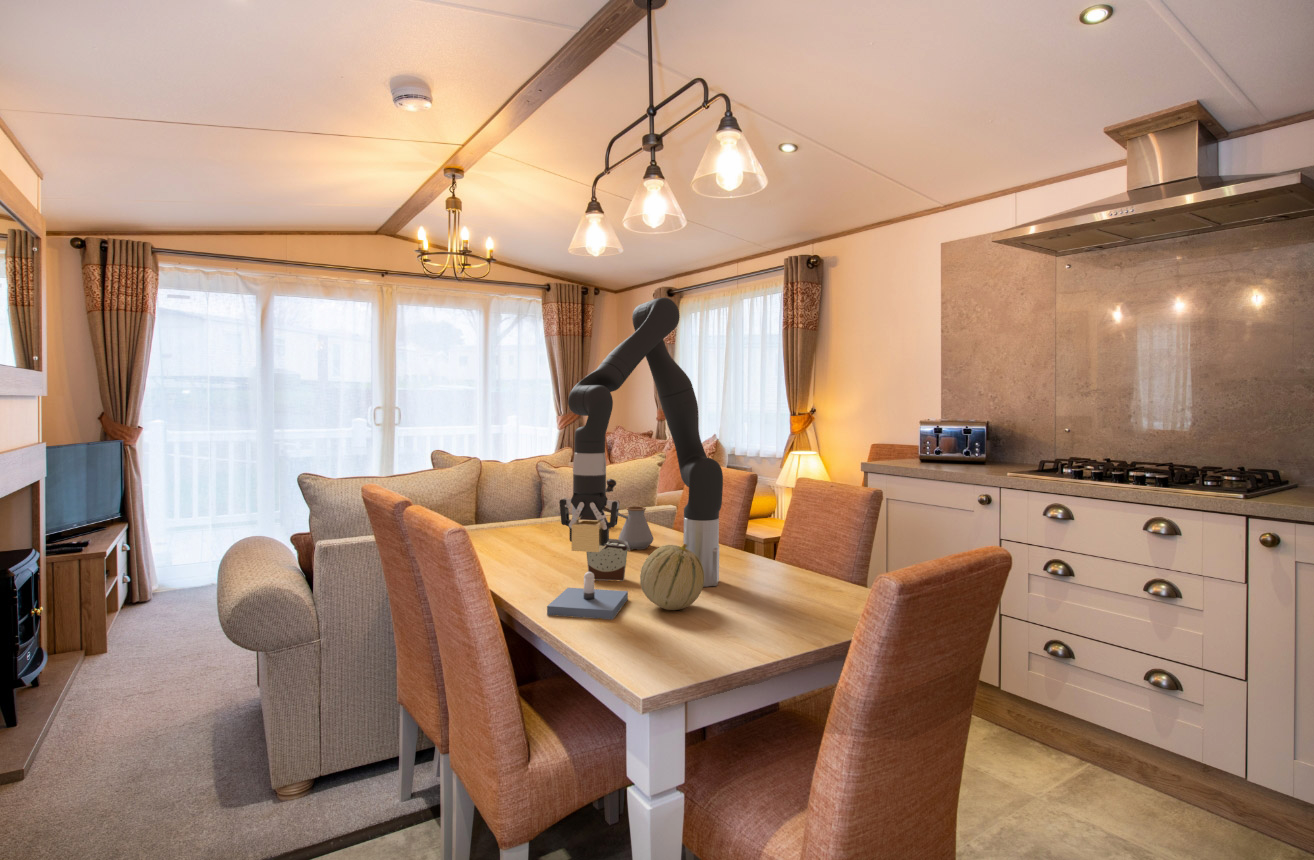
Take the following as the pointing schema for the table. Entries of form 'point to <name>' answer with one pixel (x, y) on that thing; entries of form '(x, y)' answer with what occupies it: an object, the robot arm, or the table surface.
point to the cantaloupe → (672, 577)
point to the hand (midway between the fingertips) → (589, 544)
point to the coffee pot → (635, 528)
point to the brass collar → (587, 536)
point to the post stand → (588, 601)
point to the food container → (609, 561)
